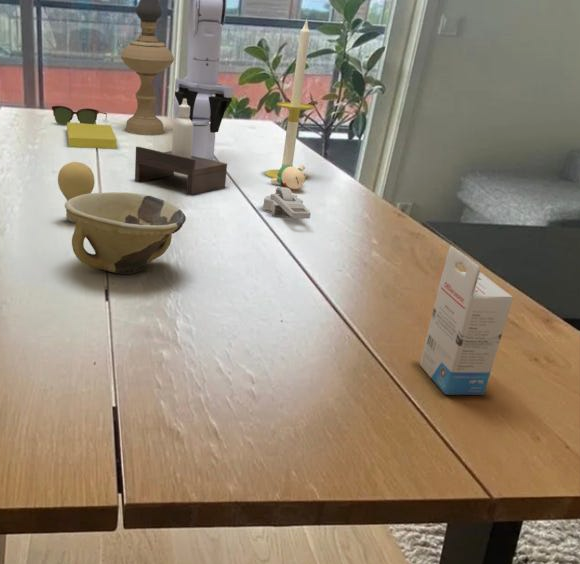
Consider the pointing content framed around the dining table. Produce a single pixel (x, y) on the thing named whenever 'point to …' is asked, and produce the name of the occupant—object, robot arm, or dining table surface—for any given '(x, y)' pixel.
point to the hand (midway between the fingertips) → (200, 129)
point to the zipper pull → (285, 204)
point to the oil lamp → (146, 68)
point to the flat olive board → (90, 135)
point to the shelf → (180, 169)
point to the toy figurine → (290, 176)
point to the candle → (295, 102)
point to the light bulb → (75, 181)
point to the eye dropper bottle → (183, 132)
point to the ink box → (464, 328)
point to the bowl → (122, 229)
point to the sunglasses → (83, 115)
